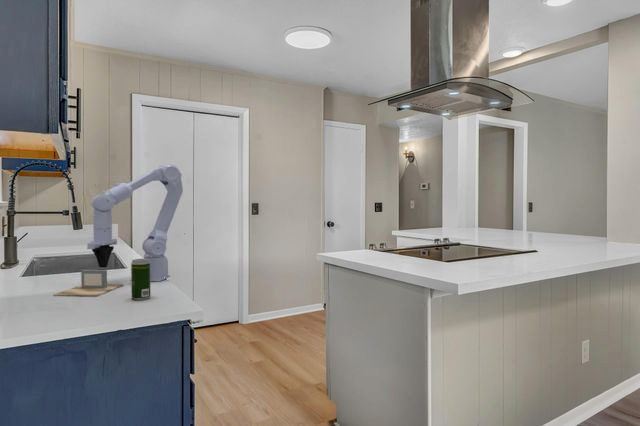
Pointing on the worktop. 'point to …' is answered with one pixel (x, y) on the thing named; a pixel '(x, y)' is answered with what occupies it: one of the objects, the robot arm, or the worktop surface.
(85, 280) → the tile
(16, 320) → the worktop surface
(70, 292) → the mat
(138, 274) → the guarana soda can
